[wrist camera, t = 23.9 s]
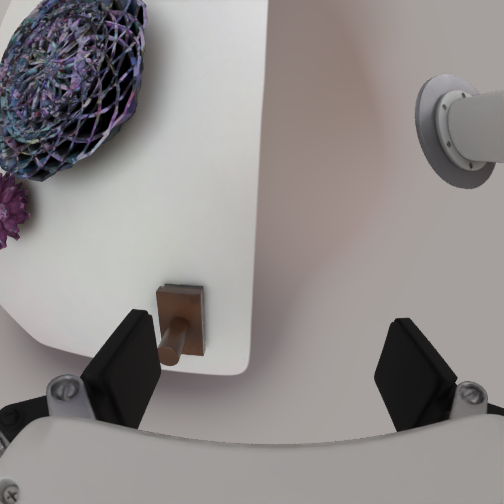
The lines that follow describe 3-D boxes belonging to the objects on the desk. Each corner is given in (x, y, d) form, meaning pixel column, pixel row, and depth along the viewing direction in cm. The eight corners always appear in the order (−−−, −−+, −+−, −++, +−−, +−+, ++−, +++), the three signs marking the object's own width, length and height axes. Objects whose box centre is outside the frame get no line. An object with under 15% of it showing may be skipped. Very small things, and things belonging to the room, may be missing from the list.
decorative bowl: (27, 183, 33) (-16, 197, 23) (33, 31, 23) (-4, 19, 14) (171, 158, 32) (141, 164, 23) (173, -21, 23) (154, -57, 13)
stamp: (163, 281, 35) (136, 317, 26) (204, 284, 35) (189, 322, 26) (169, 339, 38) (149, 383, 28) (206, 343, 38) (195, 389, 28)
